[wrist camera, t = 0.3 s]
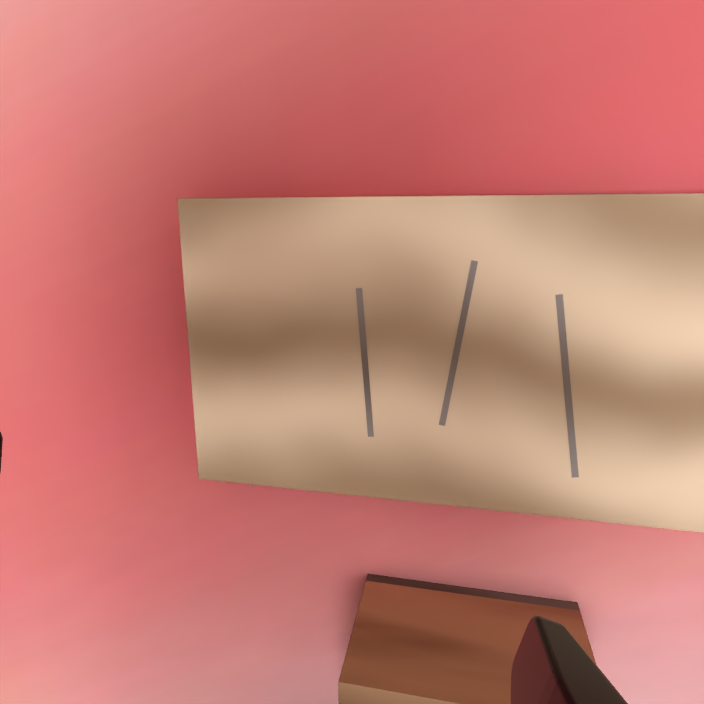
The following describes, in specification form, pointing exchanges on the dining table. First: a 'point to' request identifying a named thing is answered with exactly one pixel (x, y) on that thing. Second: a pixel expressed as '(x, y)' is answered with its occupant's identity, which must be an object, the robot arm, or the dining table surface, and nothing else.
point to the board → (454, 350)
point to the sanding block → (441, 642)
